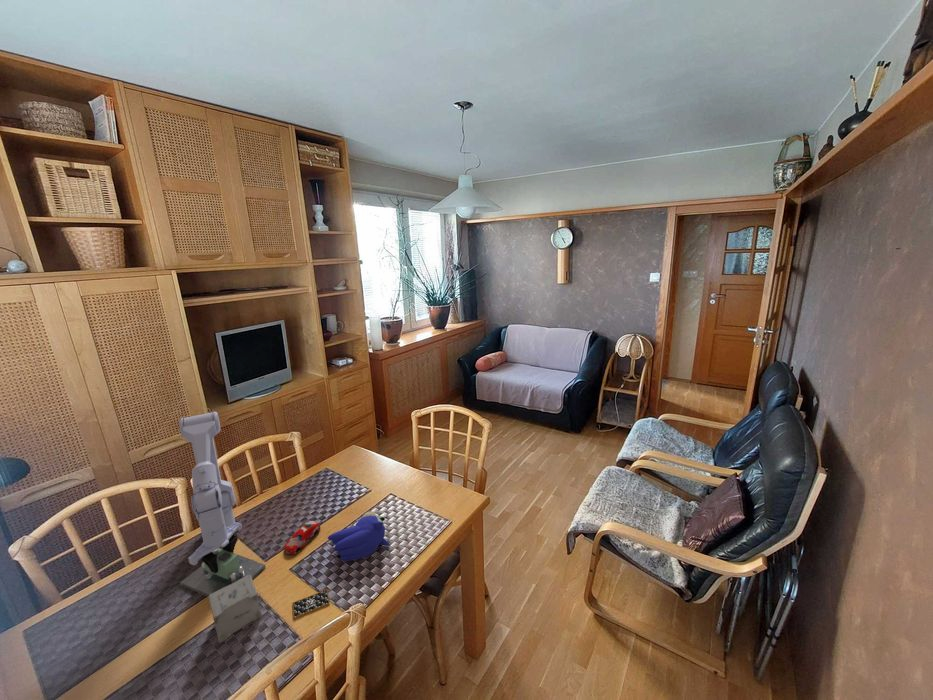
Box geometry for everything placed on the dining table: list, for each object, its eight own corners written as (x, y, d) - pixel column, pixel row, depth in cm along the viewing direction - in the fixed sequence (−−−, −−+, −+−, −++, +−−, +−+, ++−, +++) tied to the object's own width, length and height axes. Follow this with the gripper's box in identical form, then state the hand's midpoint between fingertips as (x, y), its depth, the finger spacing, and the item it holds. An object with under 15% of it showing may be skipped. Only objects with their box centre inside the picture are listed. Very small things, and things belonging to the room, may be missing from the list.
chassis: (181, 585, 107) (178, 574, 105) (223, 551, 118) (220, 541, 117) (225, 604, 101) (223, 593, 100) (265, 567, 112) (263, 556, 111)
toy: (366, 520, 131) (399, 533, 124) (330, 559, 118) (365, 577, 110) (359, 498, 127) (393, 510, 120) (322, 536, 114) (357, 553, 107)
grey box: (219, 648, 90) (211, 615, 87) (214, 623, 96) (206, 591, 93) (264, 622, 96) (257, 590, 93) (256, 600, 102) (250, 570, 99)
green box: (205, 570, 108) (201, 554, 107) (218, 560, 112) (215, 544, 111) (227, 579, 106) (224, 563, 104) (240, 568, 109) (237, 552, 108)
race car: (293, 558, 116) (291, 548, 115) (280, 553, 118) (278, 543, 117) (323, 529, 128) (322, 520, 127) (311, 525, 130) (310, 516, 129)
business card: (293, 617, 96) (292, 602, 100) (293, 620, 97) (292, 605, 101) (329, 602, 100) (327, 588, 104) (329, 605, 101) (327, 591, 105)
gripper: (197, 549, 97) (207, 590, 101) (246, 513, 110) (253, 550, 114) (179, 542, 99) (189, 582, 103) (228, 508, 112) (236, 544, 116)
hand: (222, 565), depth 108 cm, fingers closed on green box, 4 cm apart
